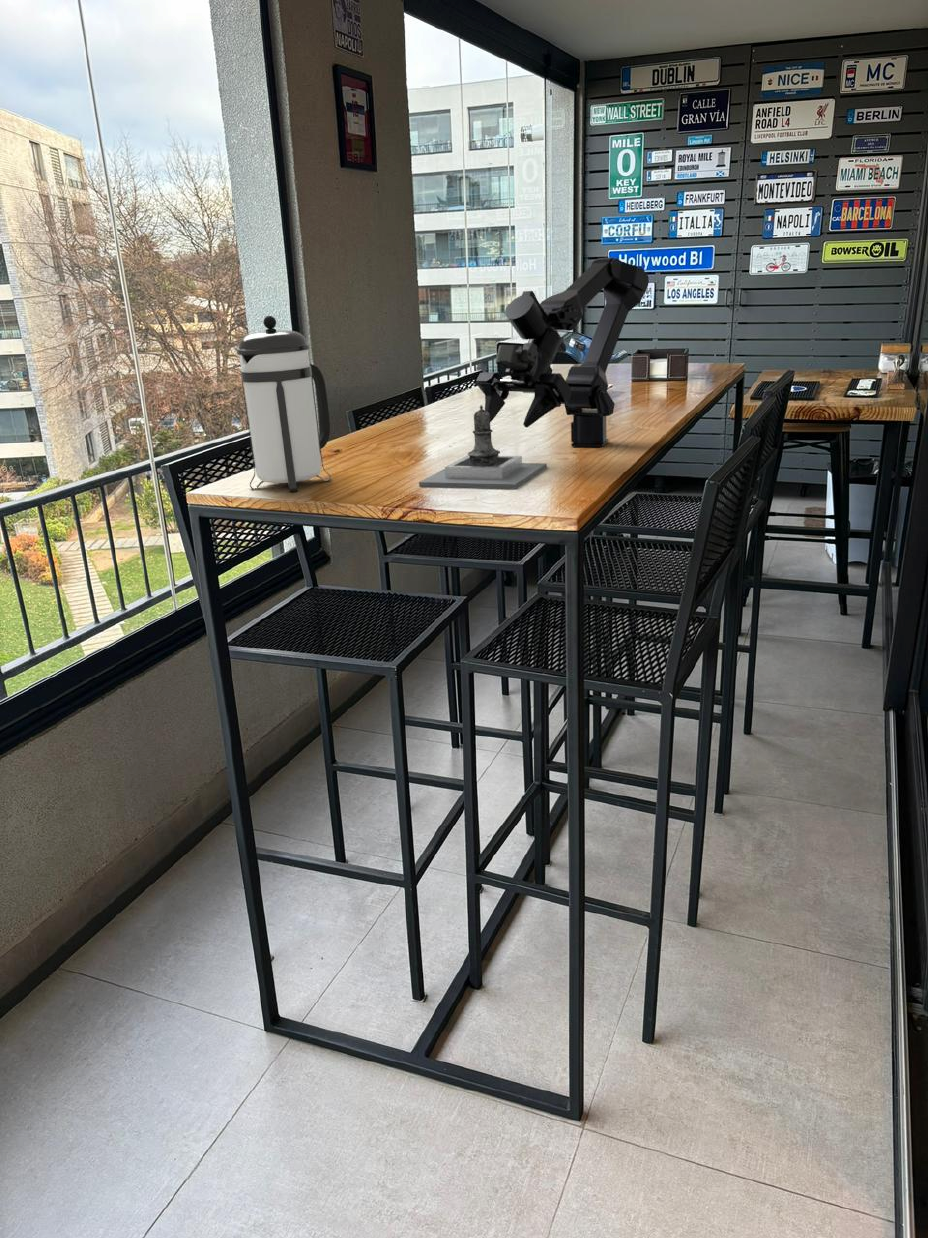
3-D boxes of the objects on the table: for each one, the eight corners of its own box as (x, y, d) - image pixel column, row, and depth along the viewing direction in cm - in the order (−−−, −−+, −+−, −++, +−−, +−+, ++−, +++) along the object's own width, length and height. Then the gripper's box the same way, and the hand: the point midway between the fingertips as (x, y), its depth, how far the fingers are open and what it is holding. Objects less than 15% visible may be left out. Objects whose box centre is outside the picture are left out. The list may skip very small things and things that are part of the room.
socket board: (546, 467, 169) (546, 463, 169) (515, 488, 154) (515, 484, 153) (458, 466, 176) (457, 462, 176) (419, 486, 160) (418, 481, 160)
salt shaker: (505, 473, 163) (502, 405, 159) (474, 476, 161) (470, 408, 157) (494, 467, 168) (491, 401, 164) (464, 471, 167) (460, 404, 162)
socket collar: (522, 466, 167) (521, 456, 166) (502, 479, 158) (501, 467, 157) (468, 465, 171) (467, 455, 170) (445, 478, 162) (444, 466, 161)
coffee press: (338, 488, 163) (318, 313, 153) (248, 497, 161) (221, 319, 151) (335, 470, 179) (317, 311, 169) (253, 478, 177) (229, 317, 167)
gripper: (478, 328, 170) (444, 396, 166) (560, 326, 159) (526, 399, 155) (506, 366, 178) (474, 432, 175) (586, 367, 167) (553, 437, 163)
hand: (505, 424), depth 167 cm, fingers open, 9 cm apart
